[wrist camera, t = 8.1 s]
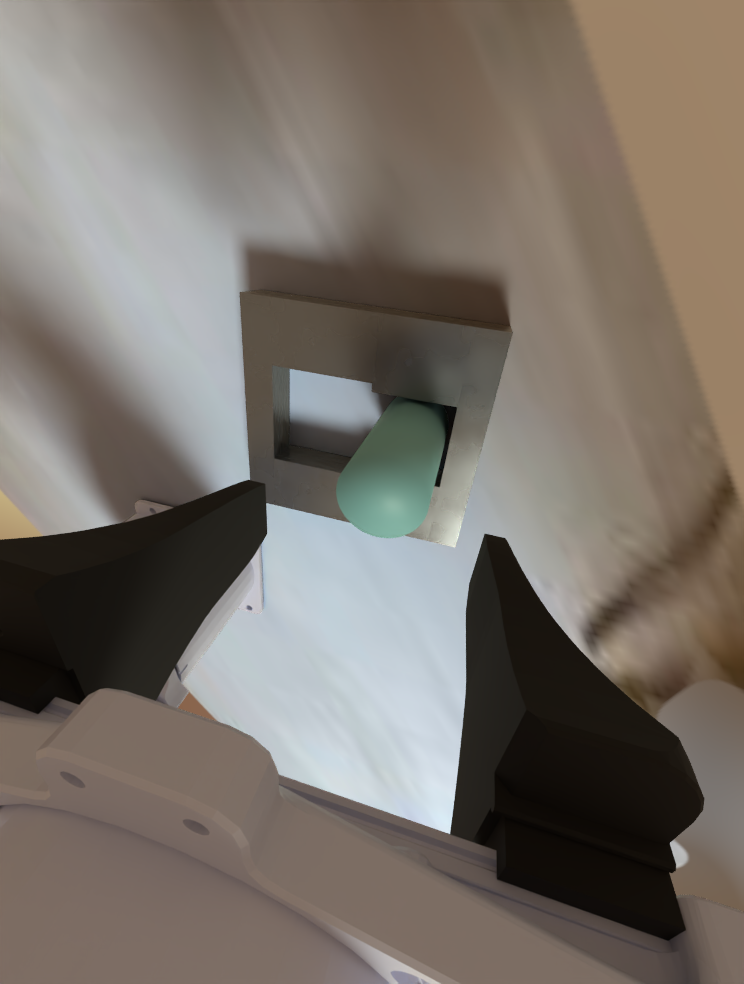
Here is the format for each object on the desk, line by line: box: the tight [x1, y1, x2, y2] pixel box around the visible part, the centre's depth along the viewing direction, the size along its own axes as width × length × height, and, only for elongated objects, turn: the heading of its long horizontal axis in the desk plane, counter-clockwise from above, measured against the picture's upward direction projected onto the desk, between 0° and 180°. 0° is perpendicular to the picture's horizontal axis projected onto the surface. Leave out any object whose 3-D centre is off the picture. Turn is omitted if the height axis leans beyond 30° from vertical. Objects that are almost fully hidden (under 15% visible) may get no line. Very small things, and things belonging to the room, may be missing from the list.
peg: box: [336, 397, 449, 538], centre depth 18 cm, size 3×3×8 cm
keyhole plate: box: [240, 290, 513, 547], centre depth 21 cm, size 12×11×2 cm
